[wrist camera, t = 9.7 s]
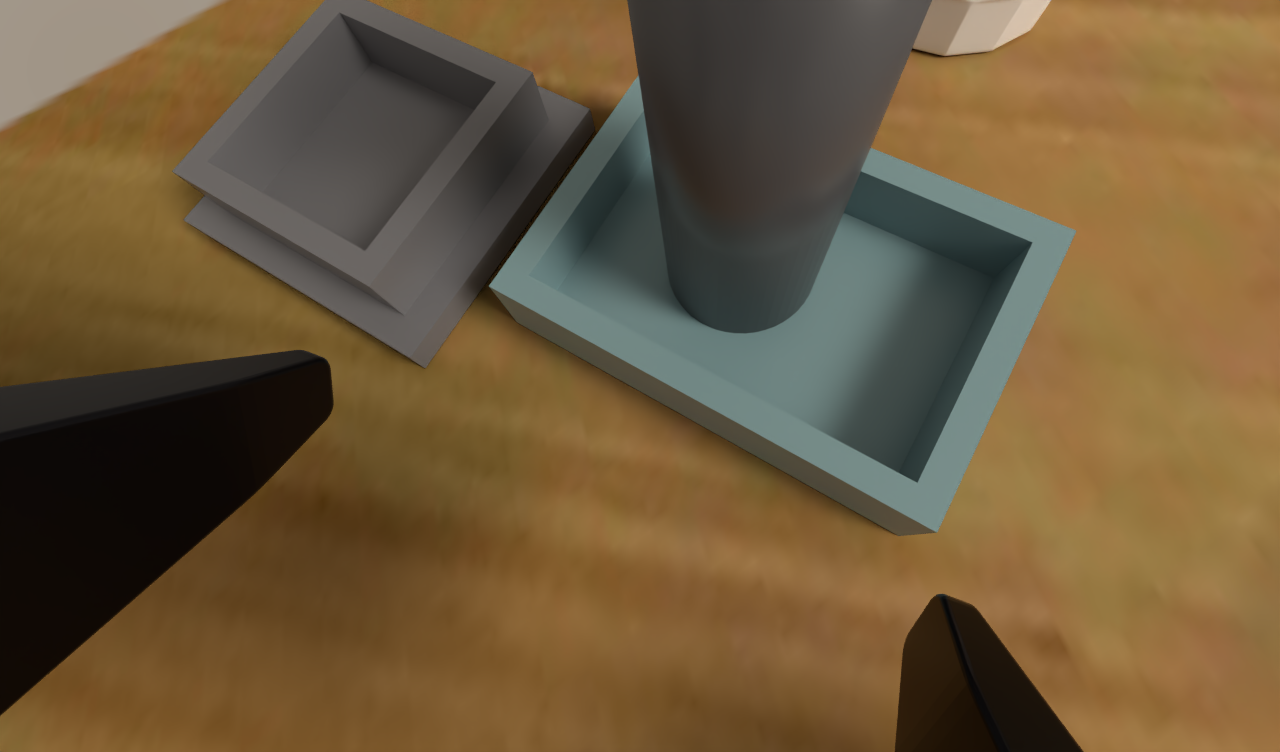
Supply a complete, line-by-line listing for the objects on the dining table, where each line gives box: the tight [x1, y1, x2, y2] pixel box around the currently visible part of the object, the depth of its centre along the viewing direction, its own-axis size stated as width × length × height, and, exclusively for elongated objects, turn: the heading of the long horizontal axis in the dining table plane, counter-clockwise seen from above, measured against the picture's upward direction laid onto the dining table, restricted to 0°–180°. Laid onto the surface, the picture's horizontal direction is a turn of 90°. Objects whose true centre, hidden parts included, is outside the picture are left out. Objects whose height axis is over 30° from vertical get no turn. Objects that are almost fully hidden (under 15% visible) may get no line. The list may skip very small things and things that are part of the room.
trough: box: [489, 75, 1076, 536], centre depth 16 cm, size 9×13×3 cm
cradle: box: [172, 0, 595, 368], centre depth 19 cm, size 10×10×3 cm
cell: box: [627, 0, 932, 333], centre depth 11 cm, size 4×4×14 cm
